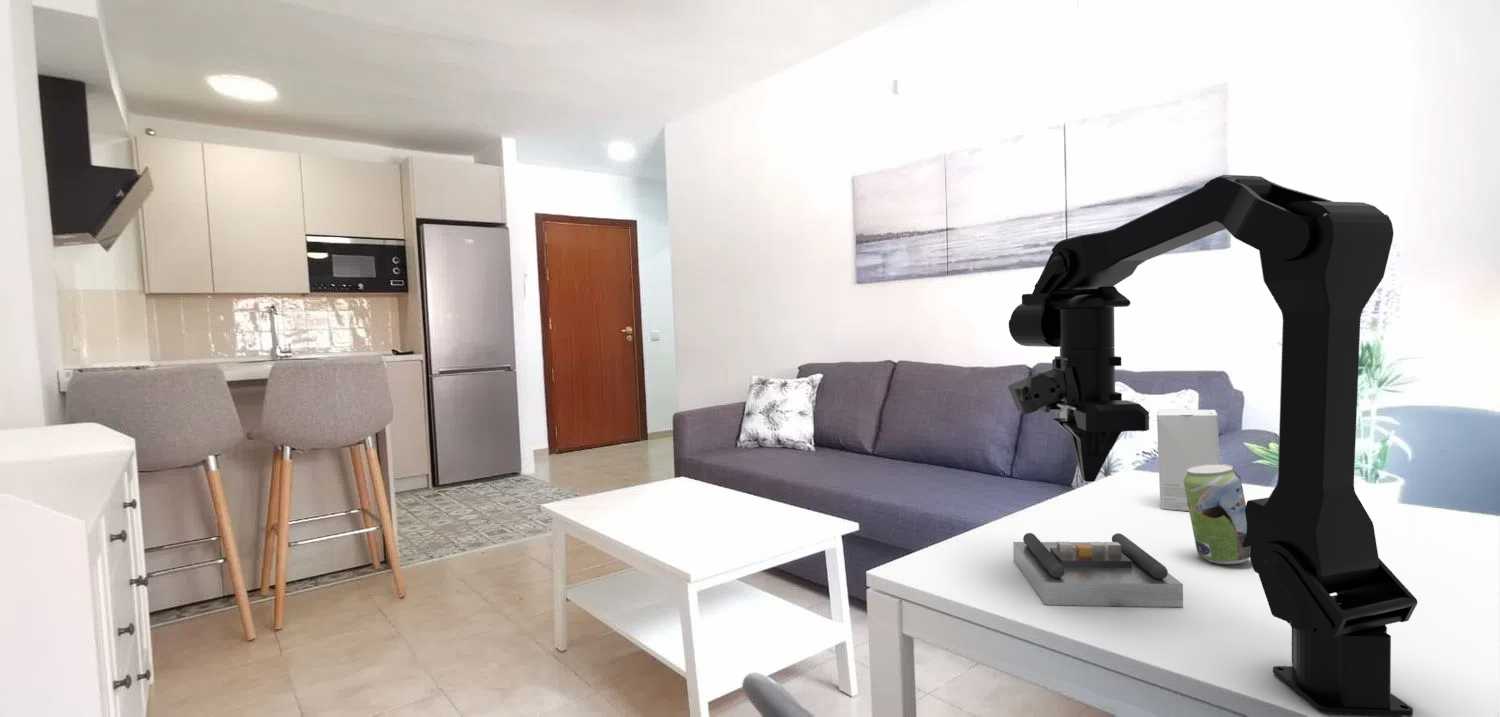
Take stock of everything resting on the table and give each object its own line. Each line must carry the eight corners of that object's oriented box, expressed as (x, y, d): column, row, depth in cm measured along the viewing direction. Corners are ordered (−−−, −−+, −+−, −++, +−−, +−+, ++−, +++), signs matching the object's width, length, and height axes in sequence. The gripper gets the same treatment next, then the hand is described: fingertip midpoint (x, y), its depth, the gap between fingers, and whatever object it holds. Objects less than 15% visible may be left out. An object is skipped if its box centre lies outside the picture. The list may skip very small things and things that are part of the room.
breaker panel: (1183, 607, 73) (1182, 565, 73) (1045, 604, 75) (1044, 564, 75) (1128, 562, 87) (1128, 526, 87) (1013, 560, 89) (1012, 526, 89)
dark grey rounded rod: (1170, 581, 74) (1170, 567, 74) (1154, 581, 74) (1154, 566, 74) (1123, 544, 86) (1123, 531, 86) (1109, 544, 86) (1109, 531, 86)
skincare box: (1219, 505, 111) (1218, 409, 110) (1221, 515, 105) (1220, 414, 104) (1158, 500, 115) (1157, 407, 114) (1157, 509, 109) (1156, 412, 109)
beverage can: (1265, 570, 83) (1264, 471, 82) (1197, 568, 84) (1196, 470, 83) (1239, 552, 89) (1238, 460, 88) (1176, 551, 90) (1175, 460, 90)
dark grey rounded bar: (1066, 580, 75) (1066, 565, 75) (1051, 580, 75) (1051, 565, 75) (1035, 543, 88) (1034, 531, 88) (1021, 543, 88) (1021, 531, 88)
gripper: (996, 347, 90) (999, 465, 91) (1036, 353, 72) (1038, 501, 72) (1086, 344, 88) (1088, 464, 89) (1150, 350, 70) (1152, 501, 71)
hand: (1088, 481), depth 80 cm, fingers closed
